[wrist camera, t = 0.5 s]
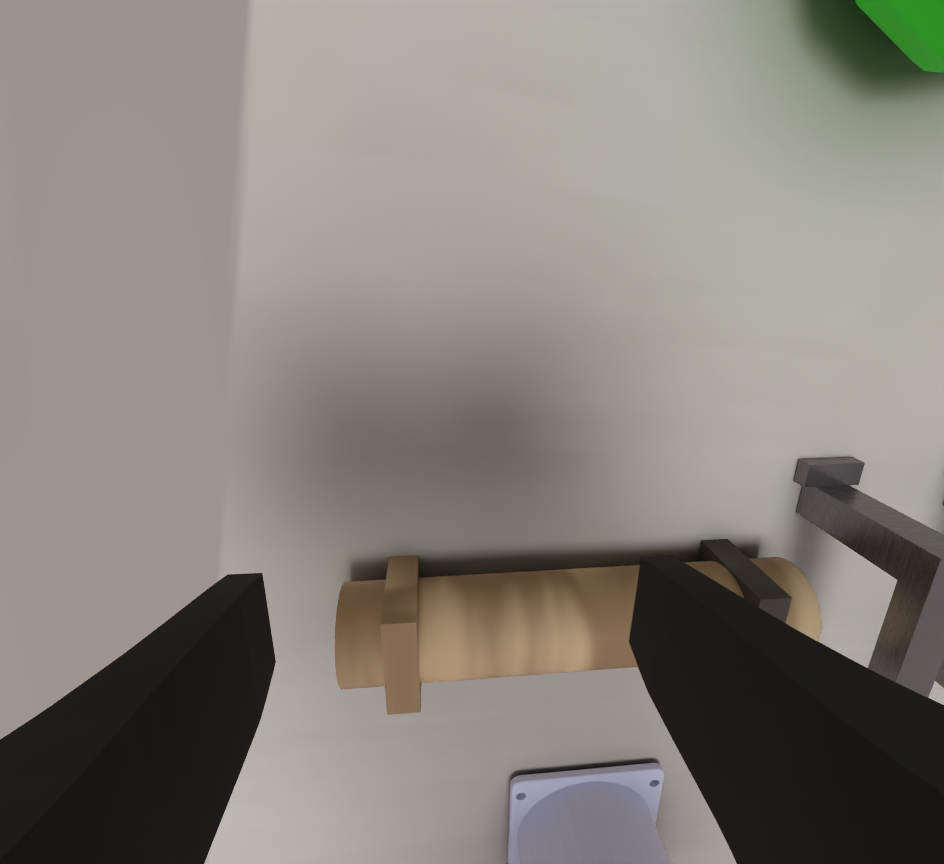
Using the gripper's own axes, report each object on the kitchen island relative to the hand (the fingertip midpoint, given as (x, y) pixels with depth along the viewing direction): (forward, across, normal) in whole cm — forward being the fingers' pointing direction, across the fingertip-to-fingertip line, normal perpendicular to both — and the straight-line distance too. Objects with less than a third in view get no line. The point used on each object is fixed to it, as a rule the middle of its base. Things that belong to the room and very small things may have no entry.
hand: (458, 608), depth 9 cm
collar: (+10, -16, +7) cm, 20 cm away
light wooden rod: (+10, -5, +7) cm, 13 cm away
